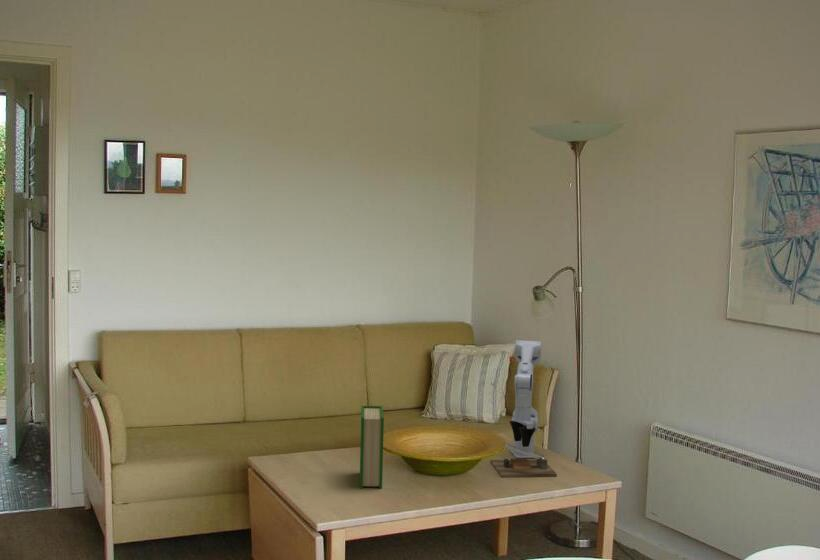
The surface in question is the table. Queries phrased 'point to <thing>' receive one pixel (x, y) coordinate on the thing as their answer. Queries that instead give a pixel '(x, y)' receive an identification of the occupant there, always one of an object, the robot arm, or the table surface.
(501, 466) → the strap board
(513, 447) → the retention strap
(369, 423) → the hardback book
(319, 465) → the table surface
